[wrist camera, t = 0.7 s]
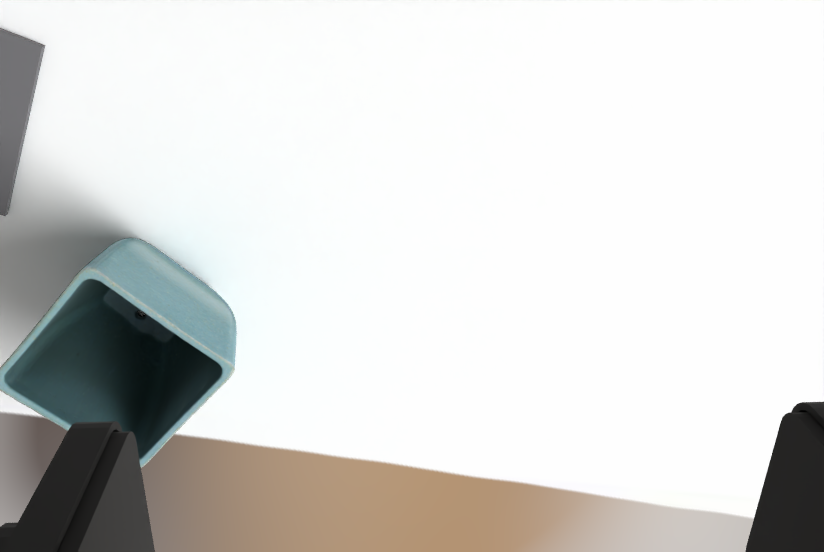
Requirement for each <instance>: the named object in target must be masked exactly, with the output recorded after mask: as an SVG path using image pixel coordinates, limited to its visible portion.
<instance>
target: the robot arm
mask: <svg viewBox="0 0 824 552" xmlns="http://www.w3.org/2000/svg"><path fill="white" fill-rule="evenodd" d="M0 552H155V550H154V545H153V539H152V533H151V526H150V521H149V514H148V509H147V503H146V496H145V490H144V484H143V479H142V473H141V467H140V461H139V455H138V449H137V443H136V438H135V435H134V433H133V432H131V431H128V432H122V428H121V426H120V424H119V423H118V422H116V421H107V422H76V423H74V424H72V426H71V427H70V428H69V430H68V432H67V434H66V435H65V437H64V439H63V441H62V443H61V445H60V446H59V449H58V450H57V452H56V454H55V456H54V458H53V460H52V461H51V463H50V465H49V467H48V469H47V470H46V472H45V474H44V476H43V478H42V480H41V481H40V484H39V485H38V487H37V489H36V491H35V492H34V494H33V496H32V498H31V500H30V502H29V504H28V505H27V507H26V509H25V511H24V513H23V514H22V516H21V518H20V520H19V522H18V523H5V524H4V525H2V526H1V527H0ZM746 552H824V402H802V403H799V404H797V405H796V406H795V407H794V408H793V410H792V412H791V413H787V414H785V416H784V417H783V418H782V421H781V424H780V427H779V431H778V435H777V438H776V442H775V445H774V449H773V453H772V456H771V460H770V463H769V467H768V471H767V474H766V478H765V482H764V485H763V489H762V492H761V496H760V500H759V503H758V507H757V510H756V514H755V518H754V521H753V525H752V528H751V532H750V536H749V539H748V543H747V547H746Z"/></svg>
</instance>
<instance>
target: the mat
mask: <svg viewBox="0 0 824 552" xmlns="http://www.w3.org/2000/svg"><path fill="white" fill-rule="evenodd" d="M44 48H45V45H42V44H40V43H37V42H35V41H32V40H29V39H27V38H24V37H22V36H19V35H17V34H14V33H11V32H9V31H6V30H4V29H1V28H0V215H3V216H5V215H6V214H8V209H9V205H10V201H11V196H12V192H13V187H14V183H15V178H16V174H17V169H18V165H19V160H20V156H21V151H22V147H23V142H24V138H25V133H26V129H27V124H28V120H29V115H30V111H31V106H32V102H33V97H34V93H35V88H36V84H37V79H38V75H39V70H40V66H41V61H42V57H43V52H44Z"/></svg>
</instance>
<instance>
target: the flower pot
mask: <svg viewBox="0 0 824 552" xmlns="http://www.w3.org/2000/svg"><path fill="white" fill-rule="evenodd" d="M138 311H143V312H144V313H146V316H144V317H141V316H139V315H138ZM235 353H236V321H235V317H234V315H233V312H232V311H231V309H230V307H229V306H228V304H227V303H226V302H225V301H224V300H223V299H222V298H221V297H220V296H219V295H218V294H217V293H216V292H215V291H214V290H213V289H211V288H210V287H209V286H207V285H206V284H205V283H203V282H202V281H200V280H199V279H198V278H196V277H195V276H194V275H192V274H191V273H189V272H188V271H186V270H185V269H184V268H182V267H181V266H180V265H178V264H177V263H176V262H174V261H173V260H172V259H170V258H169V257H168V256H166V255H165V254H163V253H162V252H161V251H159V250H158V249H157V248H155V247H154V246H152V245H150V244H148V243H147V242H145V241H143V240H140V239H136V238H126V239H122V240H119V241H117V242H115V243H113V244H112V245H110V246H109V247H108V248H107V249H105V250H104V251H103V252H102V253H100V254H99V255H98V256H97V257H96V258H94V259H93V260H92V261H91V262H90V263H89V264H88V265H86V266H85V267H84V268H83V269H82V270H81V271H80V272H79V273H78V274H77V275H76V276H75V277H74V279H73V280H72V281H71V283H70V284H69V285H68V286H67V288H66V289H65V290H64V292H63V293H62V294H61V295H60V296H59V298H58V299H57V300H56V302H55V303H54V304H53V305H52V306H51V308H50V309H49V310H48V311H47V313H46V314H45V315H44V316H43V318H42V319H41V320H40V321H39V322H38V324H37V325H36V326H35V327H34V329H33V330H32V331H31V332H30V333H29V335H28V336H27V337H26V338H25V340H24V341H23V342H22V343H21V344H20V345H19V347H18V348H17V349H16V350H15V351H14V352H13V354H12V355H11V356H10V357H9V358H8V359H7V361H6V362H5V363H4V364H3V365H2V366H1V367H0V390H1V391H2V392H4V393H5V394H6V395H9V396H10V397H12V398H14V399H15V400H17V401H18V402H20V403H22V404H24V405H26V406H27V407H29V408H31V409H32V410H34V411H36V412H37V413H39V414H41V415H42V416H44V417H46V418H47V419H49V420H50V421H52V422H54V423H56V424H58V425H59V426H61V427H62V428H64V429H66V430H67V431H68V430H69V428H70V427H71V426H72V424H74V423H76V422H107V421H116V422H118V423H119V424H120V426H121V428H122V432H128V431H131V432H133V433H134V435H135V438H136V443H137V449H138V455H139V461H140V467H143V466H144V465H146V464H147V463H148V462H149V461H150V459H151V458H152V457H153V456H154V455H155V454H156V453H157V452H158V451H159V450H160V449H161V448H162V447H163V445H164V444H165V443H166V442H167V441H168V440H169V439H170V438H171V437H172V436H173V435H174V434H175V433H176V432H177V431H178V430H179V429H180V428H181V427H182V425H183V424H185V422H186V421H187V420H188V419H189V418H190V417H191V416H192V415H193V414H194V413H195V412H196V411H197V410H198V409H199V408H200V407H201V406H202V405H203V404H204V403H205V402H206V401H207V400H208V399H209V398H210V397H211V396H212V395H213V394H214V393H215V392H216V391H217V390H218V389H219V388H220V387H221V386H222V385H223V384H224V383H225V382H226V381H227V380H228V379H229V378H230V377H231V376H232V374H233V373H234V370H235Z"/></svg>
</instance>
